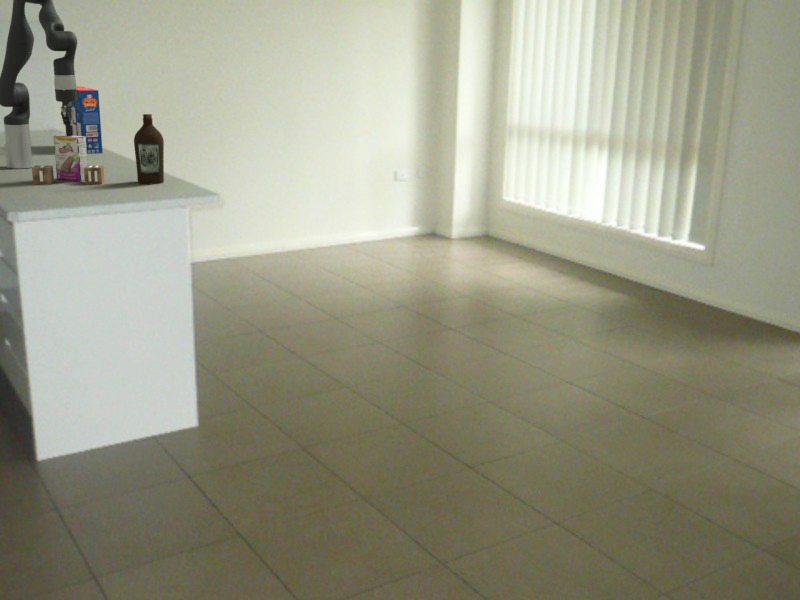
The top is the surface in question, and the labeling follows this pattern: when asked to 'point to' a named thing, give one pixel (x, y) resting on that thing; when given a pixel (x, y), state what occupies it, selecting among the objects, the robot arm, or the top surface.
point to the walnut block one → (42, 174)
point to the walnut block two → (94, 174)
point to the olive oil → (149, 153)
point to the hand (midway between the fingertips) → (69, 135)
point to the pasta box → (88, 119)
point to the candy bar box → (70, 157)
